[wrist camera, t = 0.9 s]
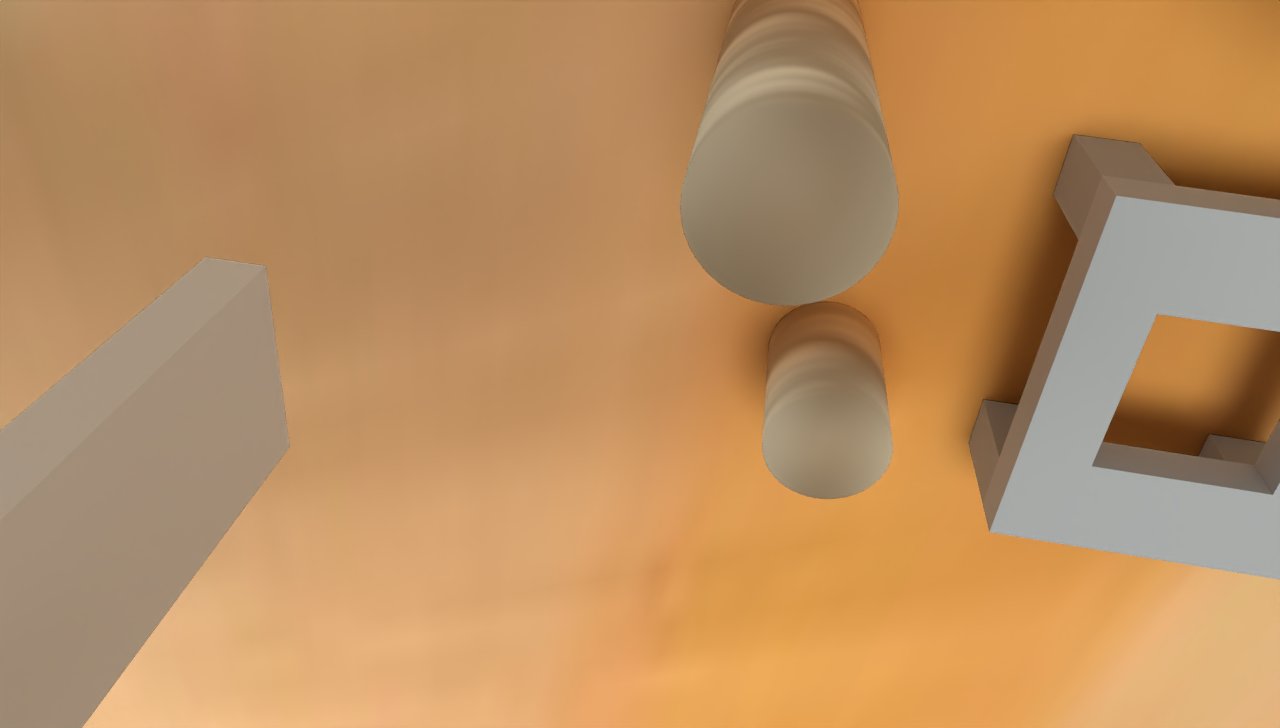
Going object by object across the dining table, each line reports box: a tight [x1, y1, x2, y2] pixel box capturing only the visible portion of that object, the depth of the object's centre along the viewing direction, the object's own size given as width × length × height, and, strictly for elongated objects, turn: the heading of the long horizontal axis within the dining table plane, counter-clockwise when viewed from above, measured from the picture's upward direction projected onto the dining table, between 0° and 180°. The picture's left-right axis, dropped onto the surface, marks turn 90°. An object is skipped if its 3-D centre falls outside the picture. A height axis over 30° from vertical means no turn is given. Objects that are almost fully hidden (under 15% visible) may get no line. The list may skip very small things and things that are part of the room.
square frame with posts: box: [969, 135, 1280, 579], centre depth 31 cm, size 10×12×5 cm
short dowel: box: [762, 302, 893, 499], centre depth 33 cm, size 4×4×6 cm
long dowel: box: [680, 0, 899, 306], centre depth 24 cm, size 4×4×14 cm
